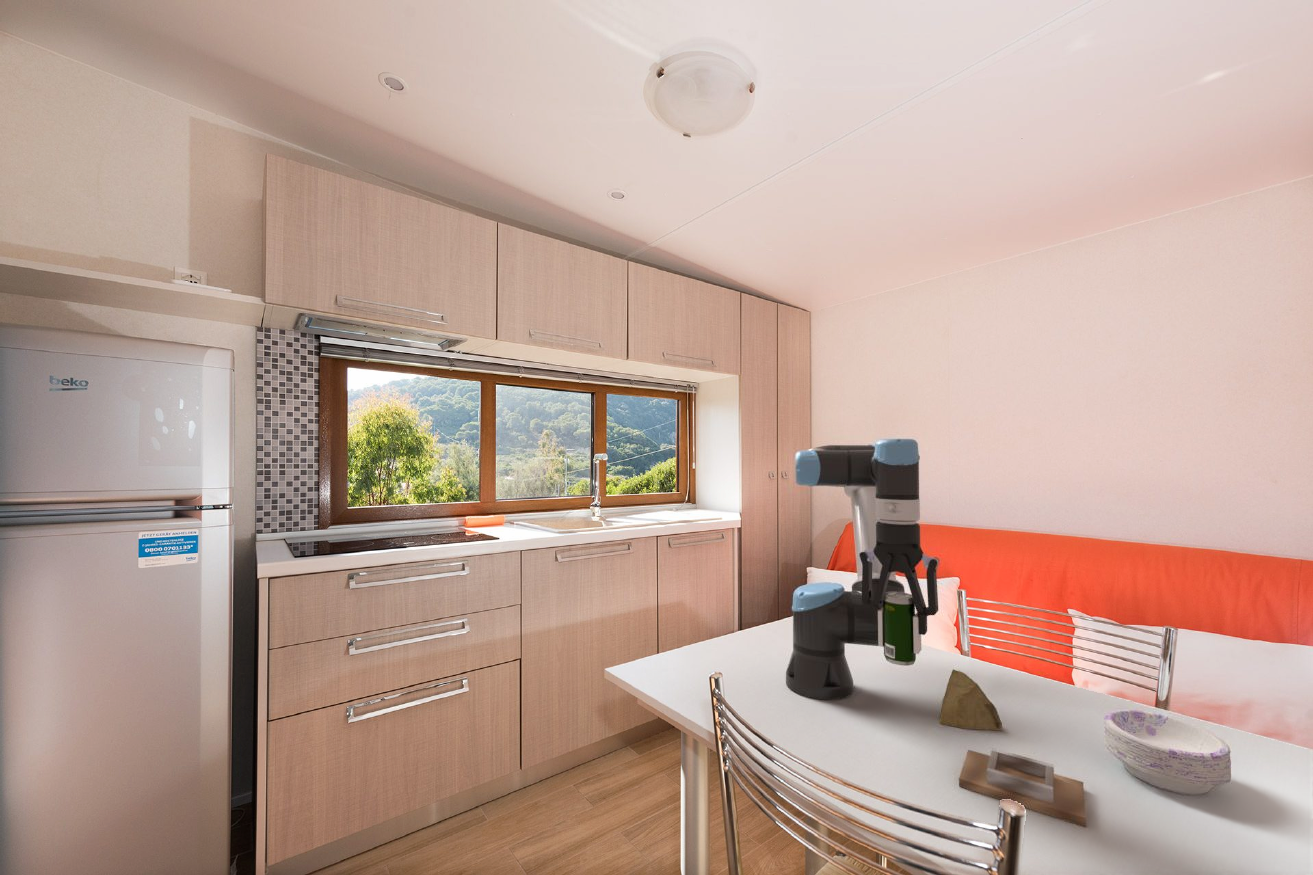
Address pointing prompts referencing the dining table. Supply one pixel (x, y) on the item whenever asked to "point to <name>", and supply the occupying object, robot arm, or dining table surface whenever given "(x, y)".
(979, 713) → the rock
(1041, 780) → the socket board
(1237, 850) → the dining table surface
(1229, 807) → the dining table surface
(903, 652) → the beer can
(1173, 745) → the paper bowls
